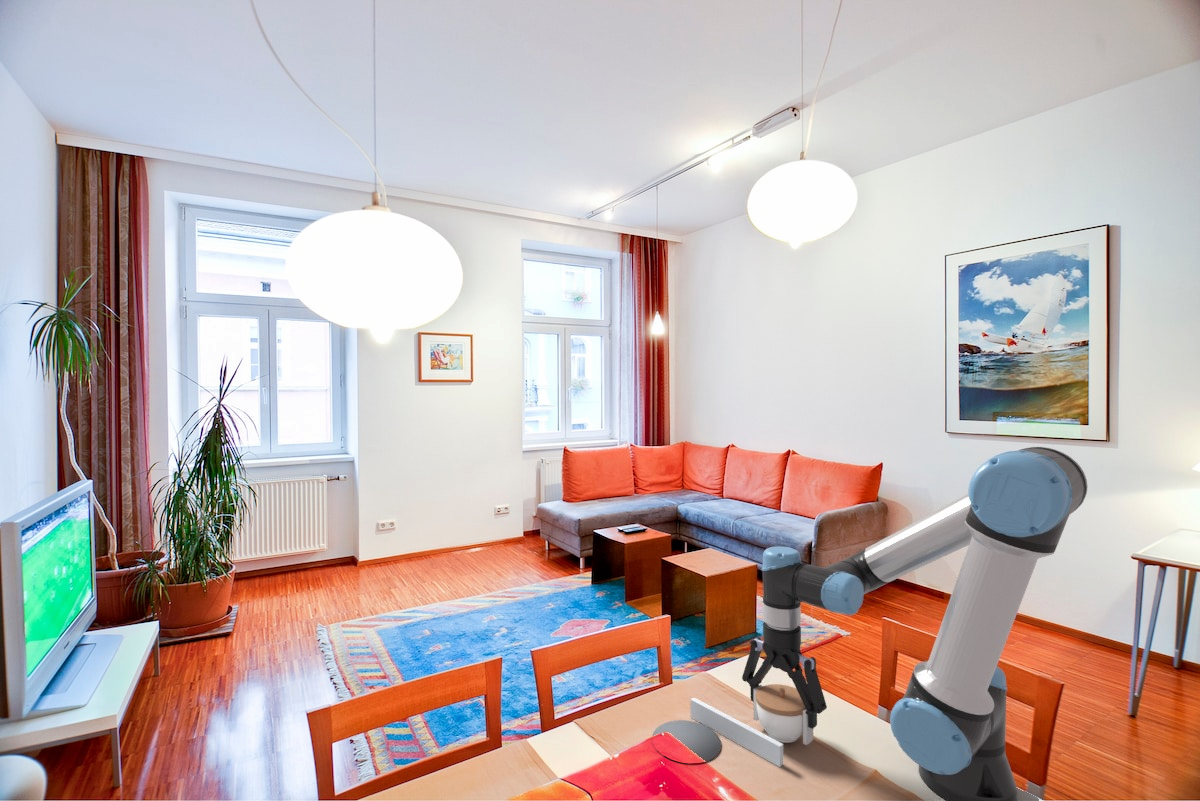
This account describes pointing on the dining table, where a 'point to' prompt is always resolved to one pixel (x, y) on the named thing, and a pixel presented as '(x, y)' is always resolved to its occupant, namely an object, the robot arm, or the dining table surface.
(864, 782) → the dining table surface
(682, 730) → the gray round disc
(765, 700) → the lidded jar
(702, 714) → the low wall
